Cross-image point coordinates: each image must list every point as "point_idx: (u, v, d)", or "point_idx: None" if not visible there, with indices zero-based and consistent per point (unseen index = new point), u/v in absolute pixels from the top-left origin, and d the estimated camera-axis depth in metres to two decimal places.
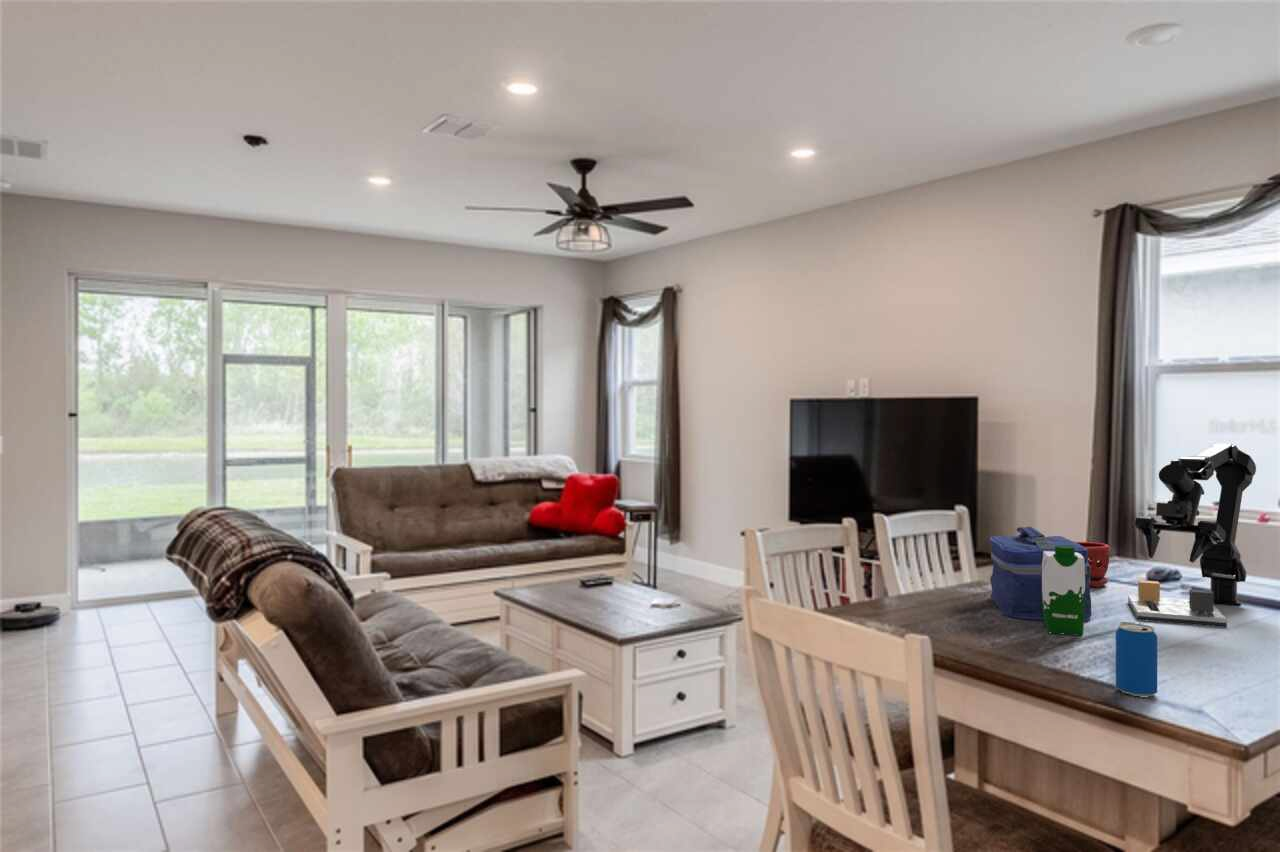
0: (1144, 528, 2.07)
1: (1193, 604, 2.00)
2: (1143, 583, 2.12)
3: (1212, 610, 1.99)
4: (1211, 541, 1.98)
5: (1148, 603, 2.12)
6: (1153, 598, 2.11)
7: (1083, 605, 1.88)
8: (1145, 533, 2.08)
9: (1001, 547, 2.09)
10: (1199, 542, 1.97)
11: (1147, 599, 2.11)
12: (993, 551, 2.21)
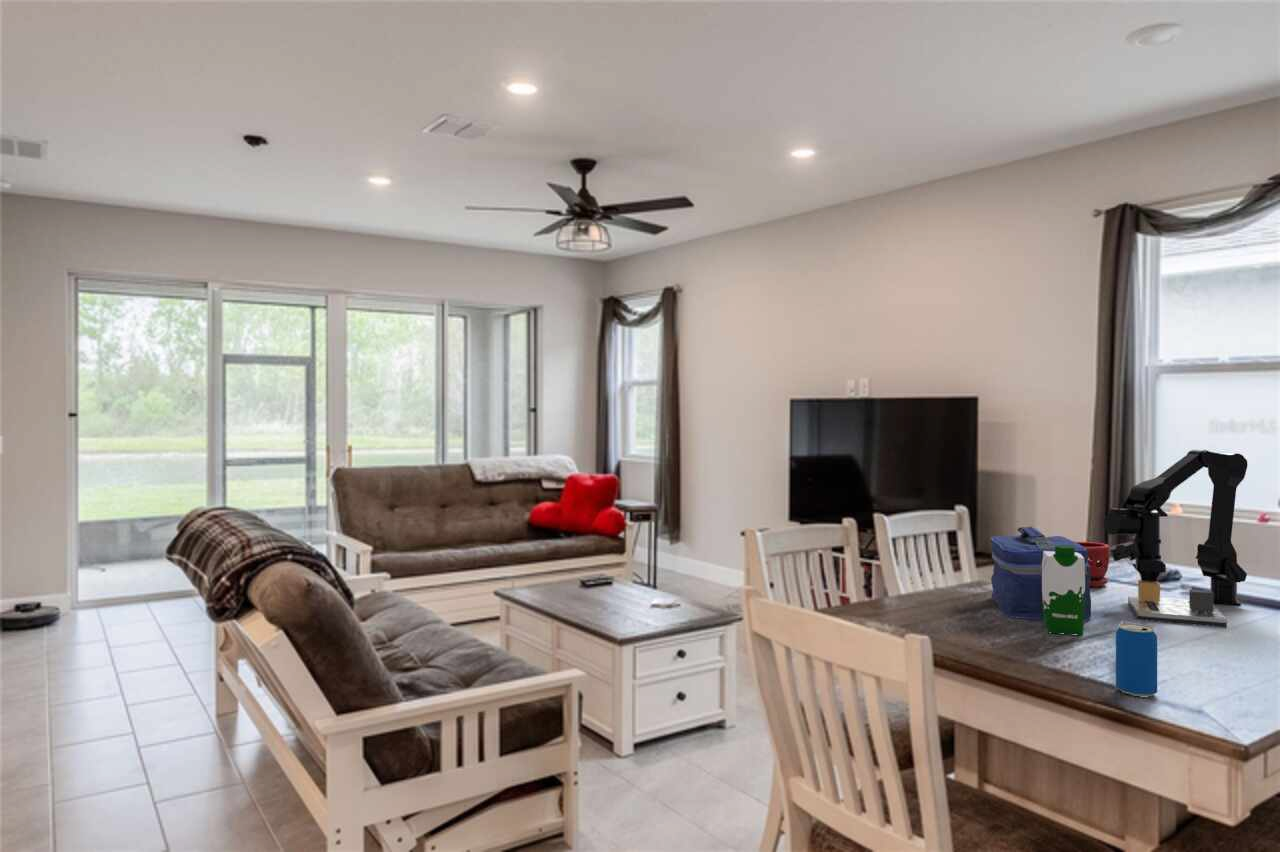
0: None
1: (1193, 604, 2.00)
2: (1143, 583, 2.11)
3: (1212, 610, 1.99)
4: None
5: (1148, 603, 2.12)
6: (1153, 598, 2.11)
7: (1083, 605, 1.88)
8: None
9: (1001, 547, 2.09)
10: (1141, 576, 2.15)
11: (1147, 599, 2.11)
12: (994, 551, 2.21)
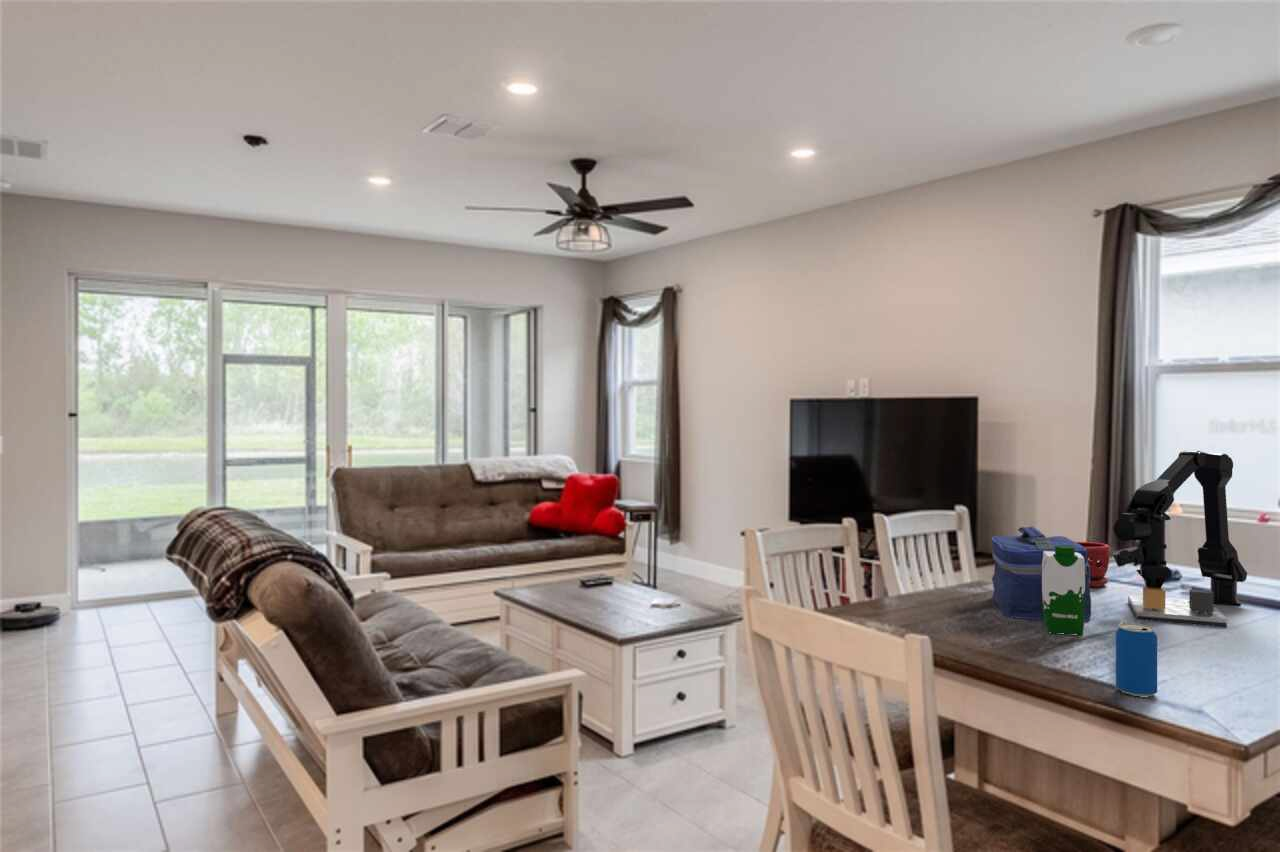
0: (1138, 572, 2.10)
1: (1193, 604, 2.00)
2: (1148, 590, 2.04)
3: (1212, 610, 1.99)
4: None
5: None
6: (1158, 605, 2.03)
7: (1083, 605, 1.88)
8: None
9: (1000, 547, 2.10)
10: (1145, 582, 2.07)
11: (1152, 607, 2.03)
12: (994, 551, 2.21)
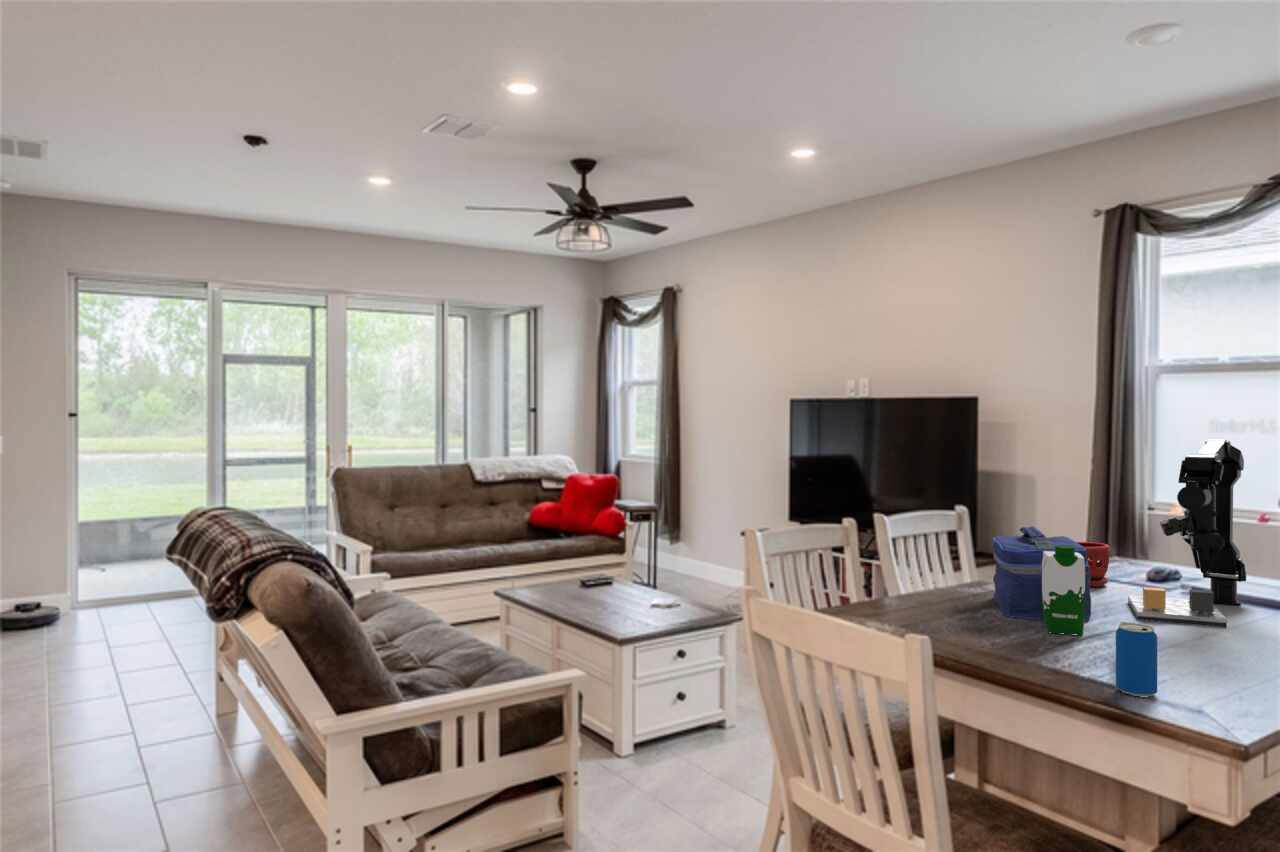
0: (1184, 540, 2.06)
1: (1193, 604, 2.00)
2: (1148, 590, 2.03)
3: (1212, 610, 1.99)
4: None
5: None
6: (1158, 605, 2.02)
7: (1083, 605, 1.88)
8: None
9: (1000, 547, 2.10)
10: (1197, 553, 1.97)
11: (1152, 607, 2.03)
12: (995, 551, 2.21)
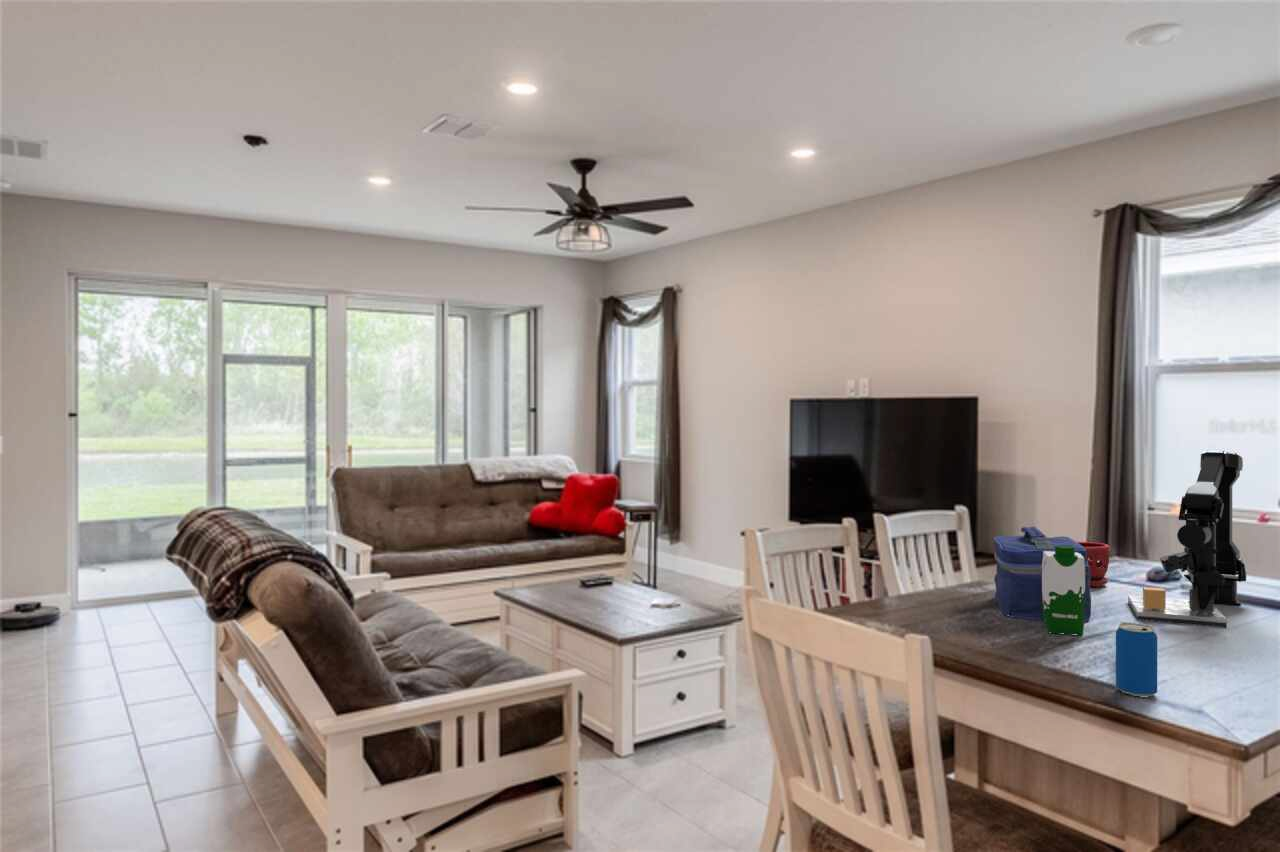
0: None
1: (1193, 604, 2.00)
2: (1148, 590, 2.03)
3: (1212, 610, 1.99)
4: (1212, 584, 1.96)
5: None
6: (1158, 605, 2.02)
7: (1083, 605, 1.88)
8: None
9: (1000, 547, 2.10)
10: (1196, 590, 1.99)
11: (1152, 607, 2.03)
12: (996, 551, 2.21)
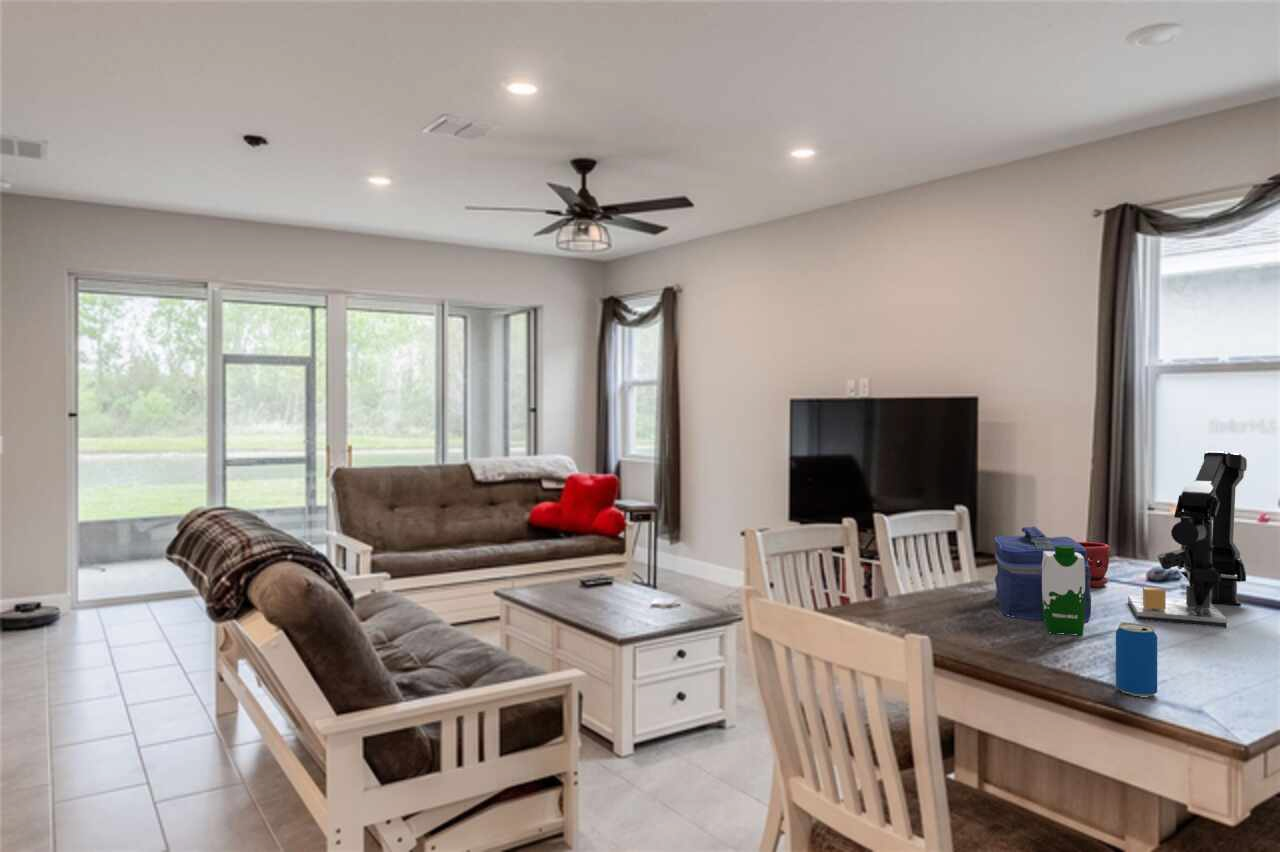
0: None
1: (1190, 600, 2.04)
2: (1148, 590, 2.03)
3: (1208, 606, 2.03)
4: (1209, 581, 2.00)
5: None
6: (1158, 605, 2.02)
7: (1083, 605, 1.88)
8: None
9: (1000, 546, 2.10)
10: (1193, 586, 2.03)
11: (1152, 607, 2.03)
12: (996, 551, 2.22)
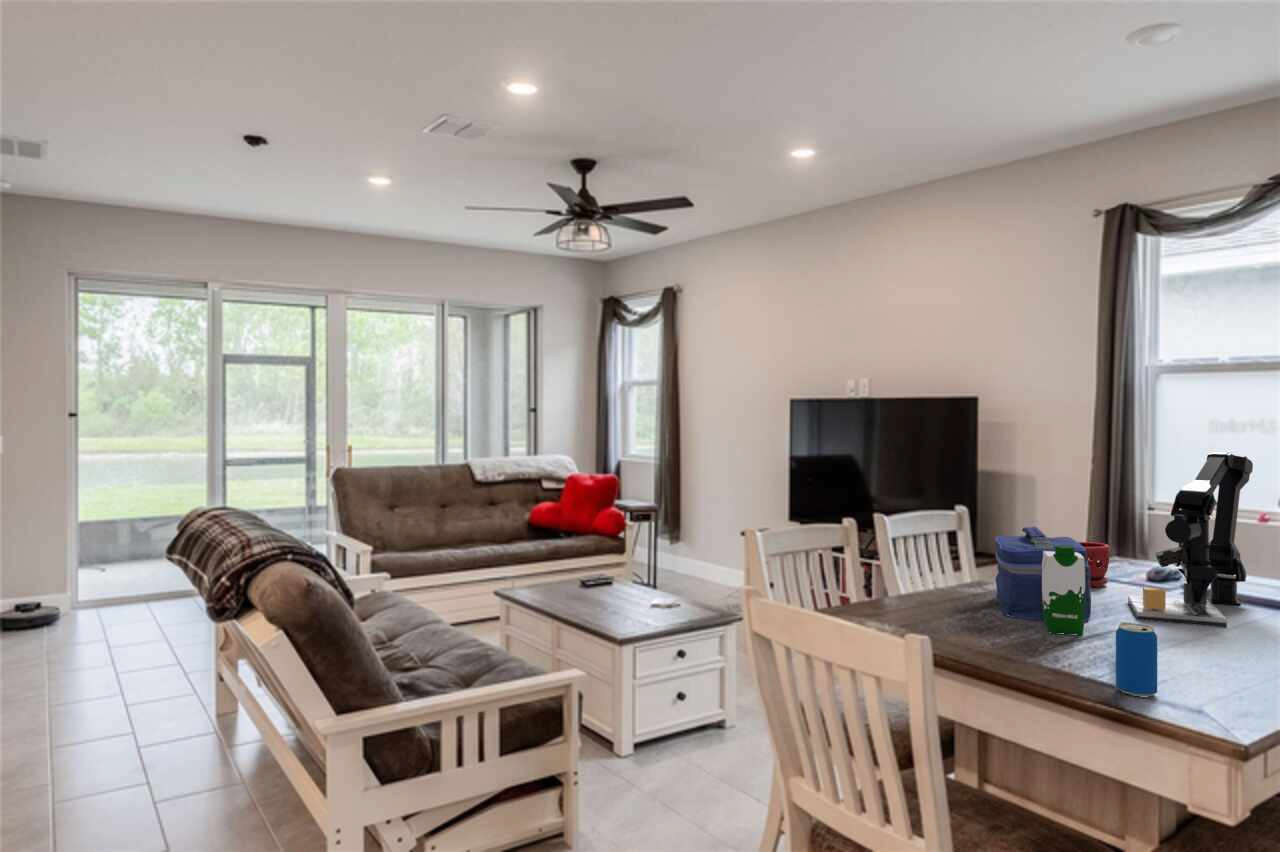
0: None
1: (1187, 597, 2.08)
2: (1148, 590, 2.03)
3: (1205, 603, 2.06)
4: (1206, 579, 2.03)
5: None
6: (1158, 605, 2.02)
7: (1083, 605, 1.88)
8: None
9: (1000, 546, 2.10)
10: (1191, 584, 2.05)
11: (1152, 607, 2.03)
12: (997, 551, 2.22)
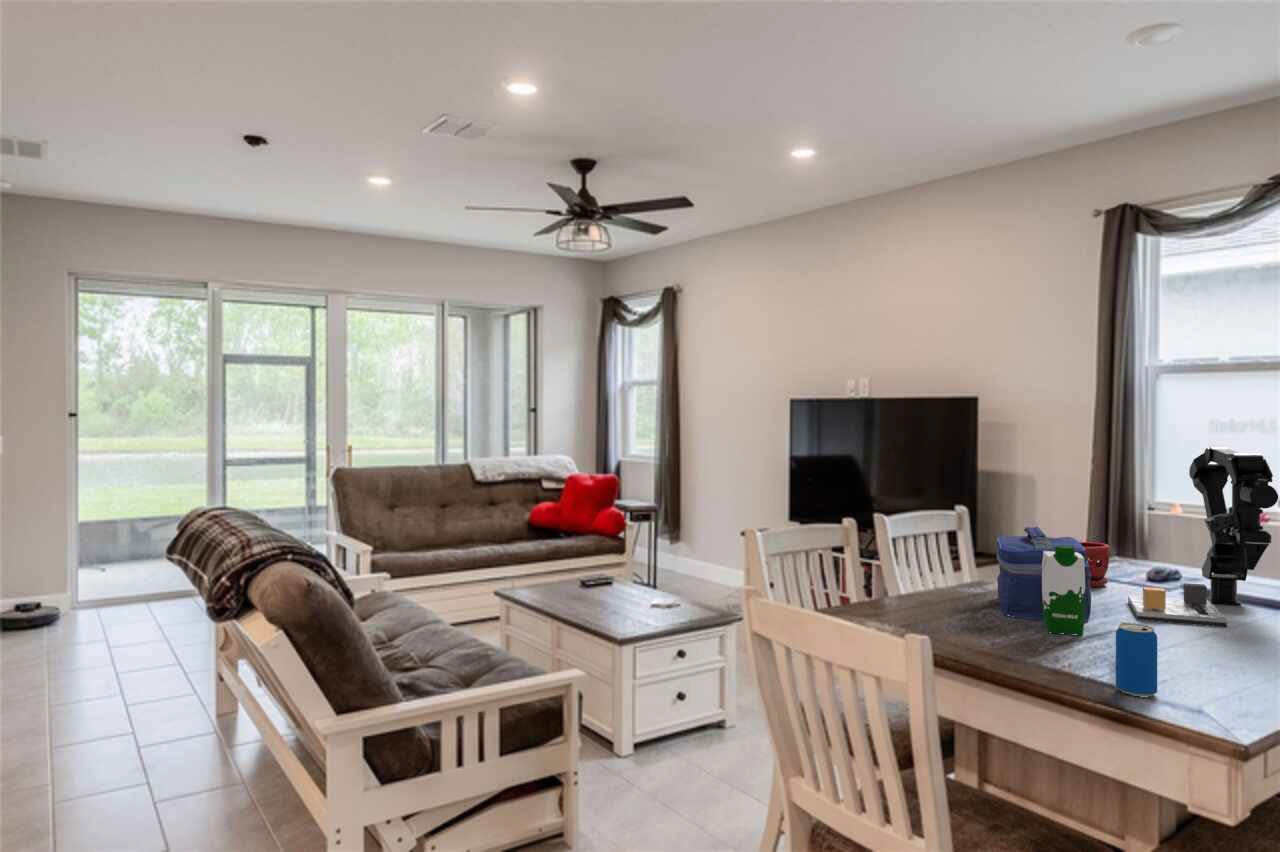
0: (1227, 536, 2.12)
1: (1187, 597, 2.08)
2: (1148, 590, 2.03)
3: (1205, 603, 2.06)
4: None
5: None
6: (1158, 605, 2.02)
7: (1083, 605, 1.88)
8: None
9: (999, 546, 2.11)
10: (1245, 551, 2.00)
11: (1152, 607, 2.03)
12: (998, 550, 2.22)
